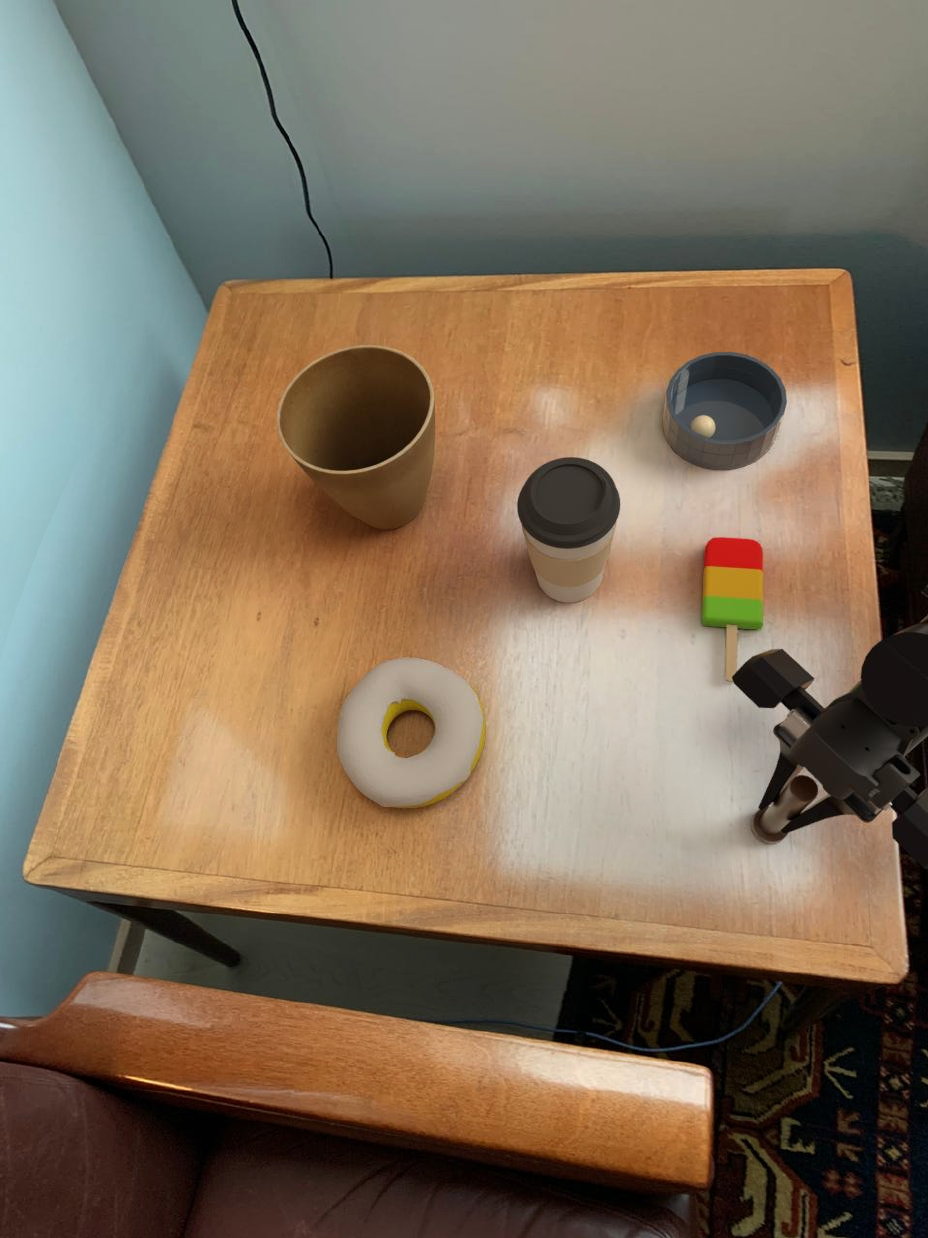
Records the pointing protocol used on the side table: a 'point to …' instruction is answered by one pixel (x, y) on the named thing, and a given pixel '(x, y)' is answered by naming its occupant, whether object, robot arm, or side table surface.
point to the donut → (376, 708)
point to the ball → (703, 426)
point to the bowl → (724, 409)
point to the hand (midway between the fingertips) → (772, 819)
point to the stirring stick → (784, 809)
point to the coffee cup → (569, 525)
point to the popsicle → (732, 590)
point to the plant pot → (363, 431)
